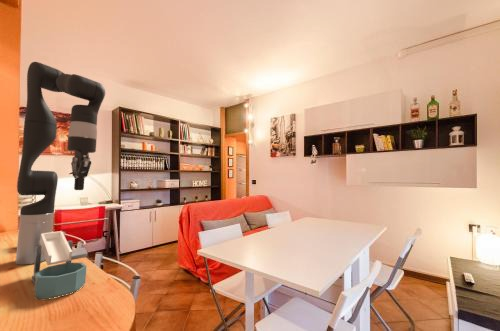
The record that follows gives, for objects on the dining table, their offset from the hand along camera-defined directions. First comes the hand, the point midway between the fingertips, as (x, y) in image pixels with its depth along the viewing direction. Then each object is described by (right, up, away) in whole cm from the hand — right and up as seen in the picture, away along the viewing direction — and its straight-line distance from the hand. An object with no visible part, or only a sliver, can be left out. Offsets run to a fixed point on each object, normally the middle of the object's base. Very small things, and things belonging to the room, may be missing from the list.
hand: (78, 189), depth 73 cm
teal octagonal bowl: (+3, -26, -11) cm, 29 cm away
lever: (-4, -21, -2) cm, 22 cm away
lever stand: (-5, -27, -4) cm, 27 cm away
